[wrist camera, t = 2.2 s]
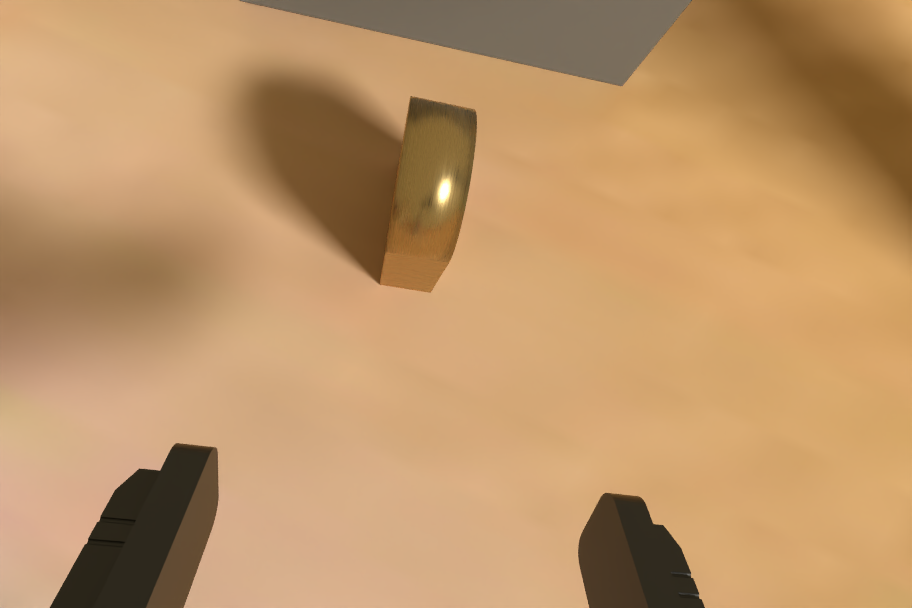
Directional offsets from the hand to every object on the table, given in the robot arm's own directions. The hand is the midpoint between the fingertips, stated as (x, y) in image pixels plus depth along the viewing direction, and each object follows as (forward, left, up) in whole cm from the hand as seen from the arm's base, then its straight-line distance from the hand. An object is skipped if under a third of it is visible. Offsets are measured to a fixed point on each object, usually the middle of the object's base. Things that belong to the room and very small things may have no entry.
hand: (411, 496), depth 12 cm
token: (-2, -10, -14) cm, 17 cm away
